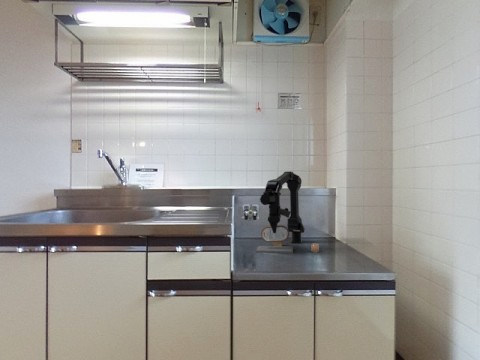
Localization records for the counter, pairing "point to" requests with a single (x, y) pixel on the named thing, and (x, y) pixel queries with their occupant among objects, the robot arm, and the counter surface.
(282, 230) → the tin
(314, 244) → the small orange block
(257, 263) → the counter surface
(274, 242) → the walnut block
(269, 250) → the mat
